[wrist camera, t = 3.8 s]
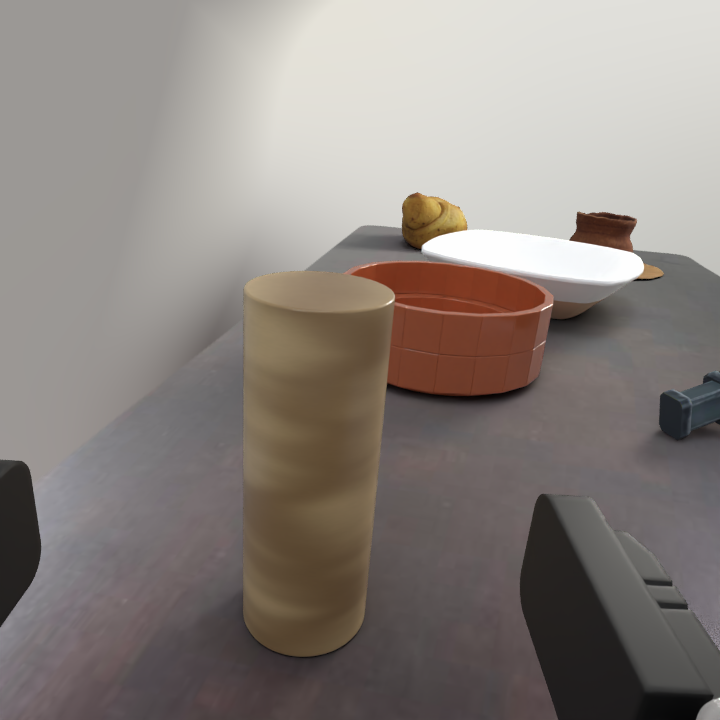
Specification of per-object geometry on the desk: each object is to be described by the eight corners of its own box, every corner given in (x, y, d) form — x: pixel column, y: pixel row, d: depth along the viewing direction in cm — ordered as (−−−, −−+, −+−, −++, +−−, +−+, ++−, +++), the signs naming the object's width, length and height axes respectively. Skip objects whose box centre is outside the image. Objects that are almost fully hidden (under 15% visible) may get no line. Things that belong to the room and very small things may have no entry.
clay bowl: (334, 395, 39) (339, 306, 37) (340, 322, 53) (344, 255, 51) (565, 410, 40) (584, 323, 37) (511, 334, 54) (522, 267, 52)
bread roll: (400, 235, 98) (405, 183, 95) (461, 240, 97) (467, 189, 94) (397, 250, 86) (403, 192, 83) (466, 256, 85) (474, 198, 82)
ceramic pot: (551, 246, 98) (559, 202, 95) (670, 266, 89) (683, 218, 87) (516, 263, 83) (524, 211, 81) (654, 288, 75) (669, 231, 72)
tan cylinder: (232, 654, 20) (229, 304, 16) (253, 563, 24) (256, 266, 20) (365, 661, 20) (400, 316, 16) (364, 569, 24) (391, 275, 20)
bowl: (641, 297, 70) (652, 252, 68) (617, 349, 52) (631, 290, 50) (463, 265, 79) (469, 225, 77) (391, 300, 61) (396, 248, 59)
